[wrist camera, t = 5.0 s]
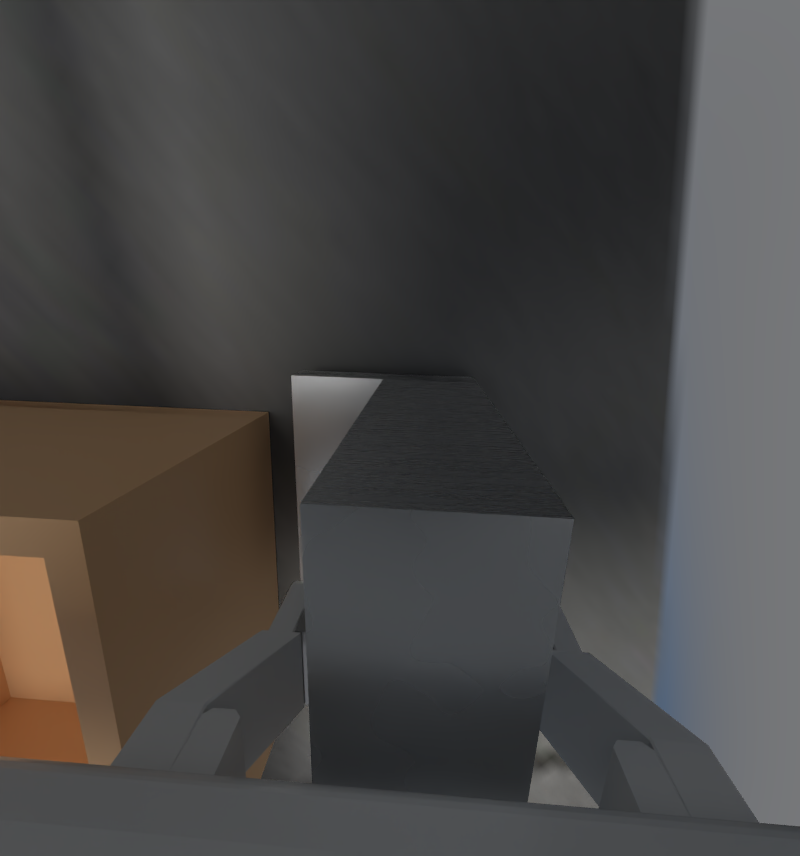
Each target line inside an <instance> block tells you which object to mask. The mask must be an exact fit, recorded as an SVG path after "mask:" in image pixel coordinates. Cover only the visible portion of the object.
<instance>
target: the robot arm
mask: <svg viewBox="0 0 800 856" xmlns="http://www.w3.org/2000/svg"><path fill="white" fill-rule="evenodd" d="M304 704H306V705H309V697H308V674H307V651H306V629H305V606H304V583H303V581H295V582H294V583H292V584H291V586H290V588H289V590H288V592H287V594H286V596H285V598H284V600H283V602H282V604H281V606H280V608H279V610H278V612H277V614H276V616H275V618H274V620H273V622H272V624H271V626H270V628H269V630H261V631H260V632H258V633H257V634H255V635H254V636H252V637H251V638H249V639H248V640H246V641H245V642H243V643H242V644H240V645H239V646H237V647H236V648H234V649H233V650H231V651H230V652H228V653H227V654H225V655H224V656H222V657H221V658H219V659H218V660H216V661H215V662H213V663H212V664H210V665H209V666H207V667H206V668H204V669H203V670H201V671H200V672H198V673H197V674H195V675H194V676H192V677H191V678H189V679H188V680H186V681H185V682H183V683H182V684H180V685H179V686H177V687H176V688H174V689H172V690H171V691H169V692H168V693H166V694H165V695H163V696H162V697H160V698H159V699H157V700H156V701H155V702H154V704H153V705H152V707H151V708H150V710H149V711H148V712H147V714H146V715H145V717H144V718H143V720H142V721H141V722H140V724H139V725H138V727H137V728H136V729H135V731H134V732H133V734H132V735H131V737H130V738H129V739H128V741H127V742H126V744H125V745H124V747H123V748H122V749H121V751H120V752H119V754H118V755H117V757H116V758H115V759H114V761H113V762H112V764H111V765H110V766H108V765H96V764H85V763H73V762H62V761H51V760H39V759H28V758H16V757H5V756H0V856H800V826H788V825H778V824H766V823H759V822H758V820H757V819H756V817H755V816H754V814H753V813H752V811H751V810H750V808H749V807H748V805H747V804H746V802H745V801H744V799H743V798H742V796H741V794H740V793H739V791H738V790H737V788H736V787H735V785H734V784H733V782H732V781H731V779H730V778H729V776H728V775H727V773H726V772H725V770H724V769H723V767H722V766H721V764H720V763H719V761H718V760H717V758H716V757H715V755H714V754H713V752H712V750H711V749H710V747H709V746H708V745H707V744H706V743H704V742H703V741H702V740H700V739H699V738H698V737H697V736H695V735H694V734H693V733H691V732H690V731H689V730H688V729H686V728H685V727H684V726H683V725H681V724H680V723H679V722H677V721H676V720H675V719H674V718H672V717H671V716H670V715H668V714H667V713H666V712H665V711H663V710H662V709H661V708H659V707H658V706H657V705H656V704H654V703H653V702H652V701H650V700H649V699H648V698H647V697H645V696H644V695H643V694H642V693H640V692H639V691H638V690H636V689H635V688H634V687H633V686H631V685H630V684H629V683H627V682H626V681H625V680H624V679H622V678H621V677H620V676H618V675H617V674H616V673H615V672H613V671H612V670H611V669H609V668H608V667H607V666H606V665H604V664H603V663H602V662H600V661H599V660H598V659H597V658H595V657H594V656H593V655H591V654H590V653H585V652H582V651H581V648H580V646H579V644H578V642H577V640H576V638H575V636H574V634H573V632H572V630H571V627H570V625H569V623H568V621H567V619H566V617H565V615H564V613H563V611H562V609H561V607H560V609H559V615H558V621H557V627H556V633H555V639H554V645H553V651H552V657H551V663H550V669H549V675H548V681H547V687H546V693H545V699H544V705H543V711H542V717H541V723H540V731H541V732H542V733H543V735H544V736H545V737H546V738H547V740H548V741H549V742H550V744H551V745H552V746H553V748H554V749H555V750H556V751H557V753H558V754H559V755H560V757H561V758H562V759H563V760H564V762H565V763H566V764H567V766H568V767H569V768H570V770H571V771H572V772H573V773H574V775H575V776H576V777H577V779H578V780H579V781H580V782H581V784H582V785H583V786H584V788H585V789H586V790H587V791H588V793H589V794H590V795H591V797H592V798H593V799H594V801H595V802H596V803H597V804H598V806H599V809H596V808H585V807H574V806H562V805H551V804H540V803H528V802H517V801H506V800H494V799H483V798H472V797H460V796H449V795H438V794H426V793H415V792H403V791H392V790H381V789H369V788H358V787H347V786H335V785H324V784H312V783H301V782H290V781H278V780H267V779H256V778H246V771H247V770H248V769H249V768H250V767H251V766H252V765H253V763H254V762H255V761H256V760H257V759H258V758H259V757H260V756H261V755H262V753H263V752H264V751H265V750H266V749H267V748H268V747H269V746H270V745H271V743H272V742H273V741H274V740H275V739H276V738H277V737H278V736H279V735H280V733H281V732H282V731H283V730H284V729H285V728H286V727H287V726H288V724H289V723H290V722H291V721H292V720H293V719H294V718H295V717H296V716H297V714H298V713H299V712H300V711H301V710H302V709H303V708H304Z"/></svg>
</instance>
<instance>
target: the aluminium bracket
mask: <svg viewBox="0 0 800 856" xmlns="http://www.w3.org/2000/svg"><path fill="white" fill-rule="evenodd" d="M291 384H292V405H293V427H294V449H295V470H296V492H297V514H298V535H299V557H300V579H301V581H303V583H304V606H305V629H306V651H307V674H308V697H309V720H310V743H311V766H312V784H324V785H335V786H347V787H358V788H369V789H381V790H392V791H403V792H415V793H426V794H438V795H449V796H460V797H472V798H483V799H494V800H506V801H517V802H528V796H529V790H530V784H531V778H532V772H533V766H534V760H535V754H536V748H537V742H538V736H539V730H540V723H541V717H542V711H543V705H544V699H545V693H546V687H547V681H548V675H549V669H550V663H551V657H552V651H553V645H554V639H555V633H556V627H557V621H558V615H559V609H560V603H561V597H562V591H563V584H564V578H565V572H566V566H567V560H568V554H569V548H570V542H571V536H572V530H573V524H574V518H573V516H572V515H571V514H570V512H569V511H568V509H567V508H566V507H565V505H564V504H563V502H562V501H561V500H560V498H559V497H558V495H557V494H556V493H555V491H554V490H553V488H552V487H551V486H550V484H549V483H548V481H547V480H546V479H545V477H544V476H543V474H542V473H541V472H540V470H539V469H538V467H537V466H536V465H535V463H534V462H533V460H532V459H531V458H530V456H529V455H528V453H527V452H526V451H525V449H524V448H523V446H522V445H521V444H520V442H519V441H518V439H517V438H516V437H515V435H514V434H513V432H512V431H511V430H510V428H509V427H508V425H507V424H506V423H505V421H504V420H503V418H502V417H501V416H500V414H499V413H498V411H497V410H496V409H495V407H494V406H493V404H492V403H491V402H490V400H489V399H488V397H487V396H486V395H485V393H484V392H483V390H482V389H481V388H480V386H479V385H478V383H477V382H476V381H475V379H474V378H473V377H462V376H436V375H410V374H384V373H358V372H332V371H306V370H302V371H300V372H297V373H295V374H293V375H291Z"/></svg>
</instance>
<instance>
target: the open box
mask: <svg viewBox="0 0 800 856" xmlns="http://www.w3.org/2000/svg"><path fill="white" fill-rule="evenodd" d="M278 610H279V601H278V582H277V563H276V544H275V525H274V506H273V487H272V468H271V449H270V430H269V412H257V411H235V410H212V409H190V408H168V407H145V406H123V405H100V404H78V403H55V402H33V401H10V400H0V756H5V757H16V758H28V759H39V760H51V761H62V762H73V763H85V764H96V765H108V766H110V765H111V764H112V762H113V761H114V759H115V758H116V757H117V755H118V754H119V752H120V751H121V749H122V748H123V747H124V745H125V744H126V742H127V741H128V739H129V738H130V737H131V735H132V734H133V732H134V731H135V729H136V728H137V727H138V725H139V724H140V722H141V721H142V720H143V718H144V717H145V715H146V714H147V712H148V711H149V710H150V708H151V707H152V705H153V704H154V702H155V701H156V700H157V699H159V698H160V697H162V696H163V695H165V694H166V693H168V692H169V691H171V690H172V689H174V688H176V687H177V686H179V685H180V684H182V683H183V682H185V681H186V680H188V679H189V678H191V677H192V676H194V675H195V674H197V673H198V672H200V671H201V670H203V669H204V668H206V667H207V666H209V665H210V664H212V663H213V662H215V661H216V660H218V659H219V658H221V657H222V656H224V655H225V654H227V653H228V652H230V651H231V650H233V649H234V648H236V647H237V646H239V645H240V644H242V643H243V642H245V641H246V640H248V639H249V638H251V637H252V636H254V635H255V634H257V633H258V632H260V631H261V630H269V628H270V626H271V624H272V622H273V620H274V618H275V616H276V614H277V612H278ZM273 743H274V741H273V742H272V743H271V745H270V746H269V747H268V748H267V749H266V750H265V751H264V752H263V753H262V755H261V756H260V757H259V758H258V759H257V760H256V761H255V762H254V763H253V765H252V766H251V767H250V768H249V769H248V770H247V771H246V778H256V779H261V776H262V773H263V771H264V768H265V765H266V762H267V759H268V757H269V754H270V751H271V748H272V746H273Z"/></svg>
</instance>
